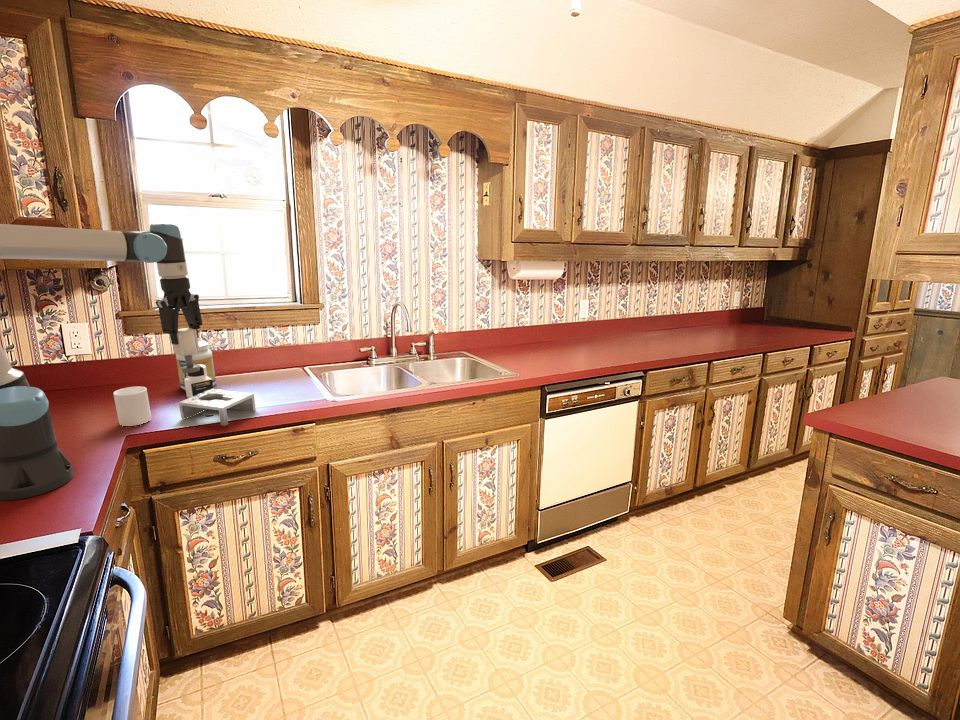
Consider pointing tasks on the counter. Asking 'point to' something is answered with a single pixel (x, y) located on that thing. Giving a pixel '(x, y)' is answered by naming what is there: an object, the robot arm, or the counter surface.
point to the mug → (132, 406)
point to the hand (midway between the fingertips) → (187, 351)
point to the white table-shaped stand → (217, 403)
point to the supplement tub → (200, 357)
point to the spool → (188, 350)
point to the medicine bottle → (198, 382)
